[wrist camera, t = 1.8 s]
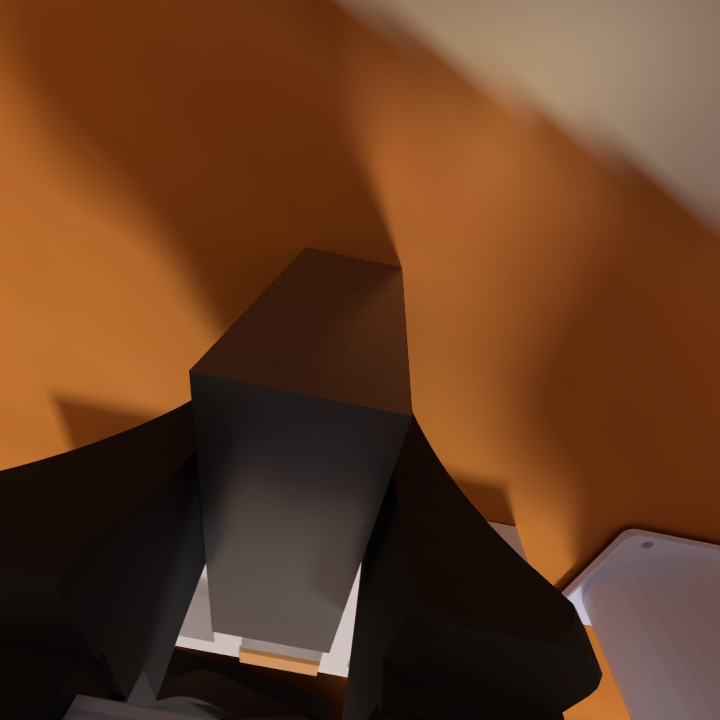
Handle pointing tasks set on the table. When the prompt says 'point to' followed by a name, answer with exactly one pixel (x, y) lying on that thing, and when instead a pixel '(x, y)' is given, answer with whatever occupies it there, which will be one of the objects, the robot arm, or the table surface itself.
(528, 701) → the robot arm
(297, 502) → the panel
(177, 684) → the tray
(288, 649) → the tray
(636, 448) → the table surface
